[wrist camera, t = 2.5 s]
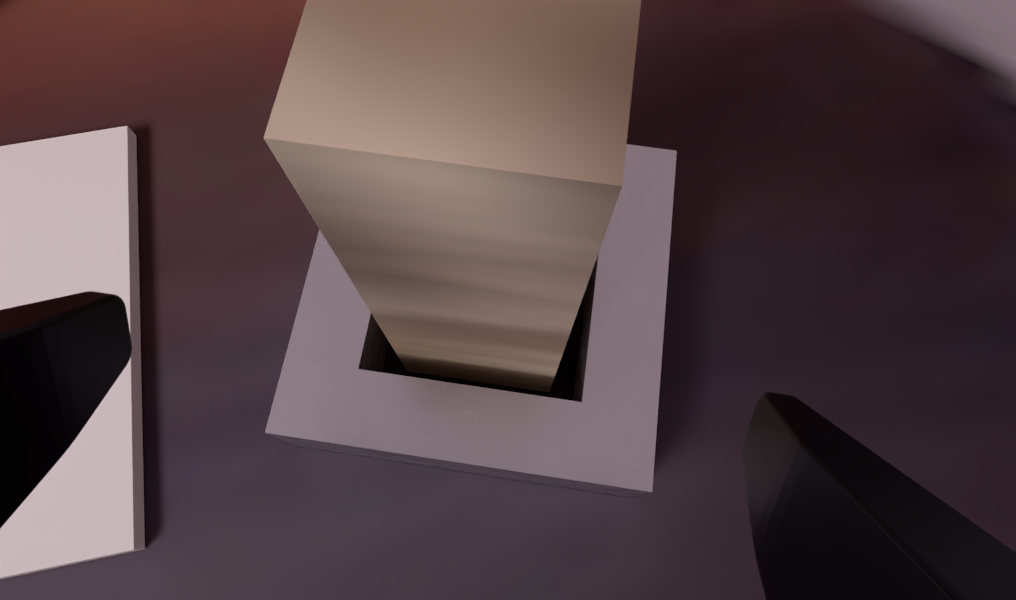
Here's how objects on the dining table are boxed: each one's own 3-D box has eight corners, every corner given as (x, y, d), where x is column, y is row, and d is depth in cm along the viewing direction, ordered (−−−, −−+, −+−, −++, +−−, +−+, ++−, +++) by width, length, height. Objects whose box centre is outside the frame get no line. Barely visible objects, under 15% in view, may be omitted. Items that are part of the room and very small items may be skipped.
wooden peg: (549, 392, 20) (622, 186, 8) (407, 371, 20) (263, 138, 8) (566, 260, 22) (649, -87, 9) (433, 241, 22) (345, -123, 10)
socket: (629, 497, 19) (652, 492, 16) (299, 446, 20) (265, 432, 17) (654, 198, 22) (676, 150, 20) (370, 159, 23) (352, 107, 20)
